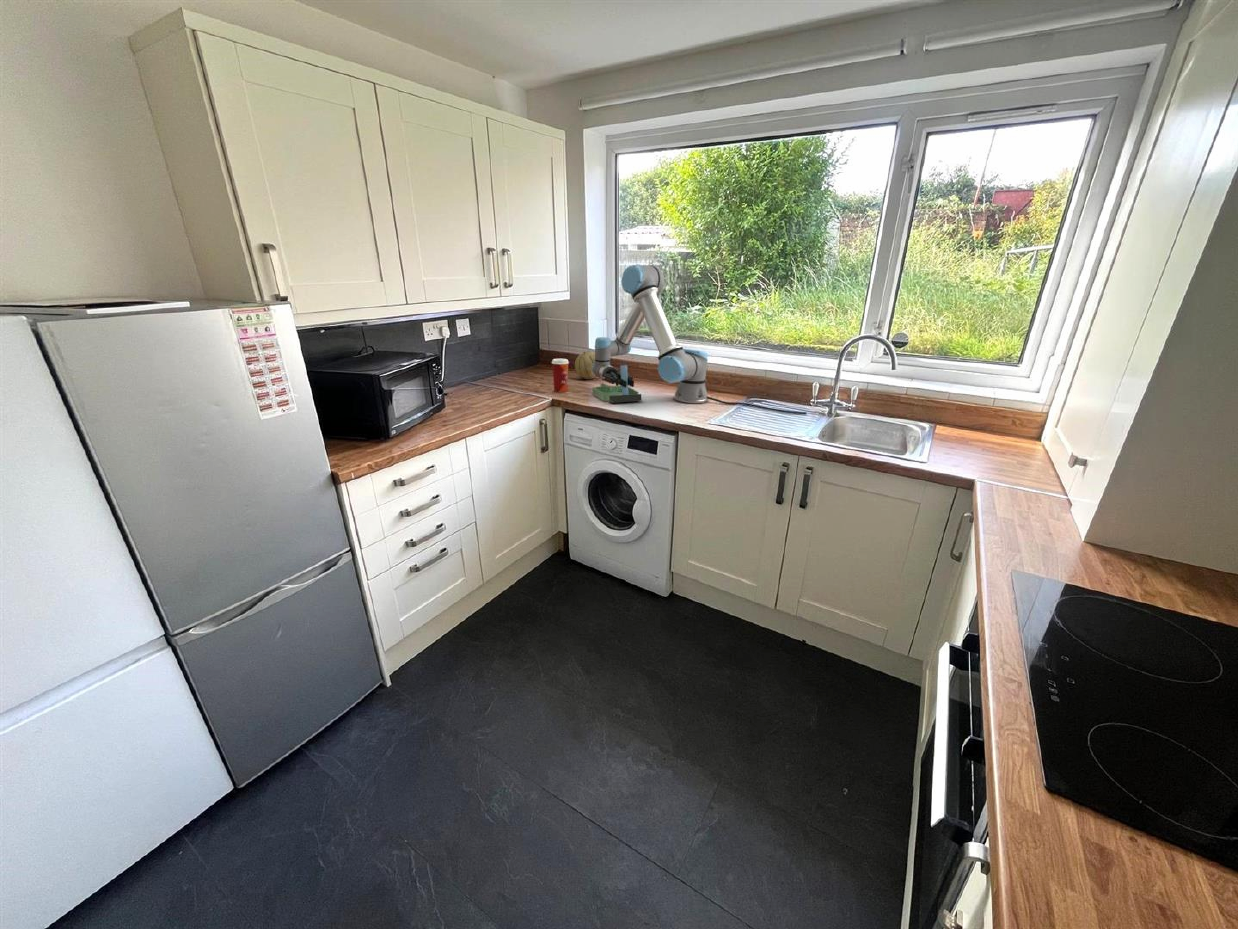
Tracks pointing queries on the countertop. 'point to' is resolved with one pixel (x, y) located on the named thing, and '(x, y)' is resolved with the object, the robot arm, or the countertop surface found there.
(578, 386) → the countertop surface
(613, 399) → the wiper
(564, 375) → the coffee cup
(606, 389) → the green tray
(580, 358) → the cantaloupe
